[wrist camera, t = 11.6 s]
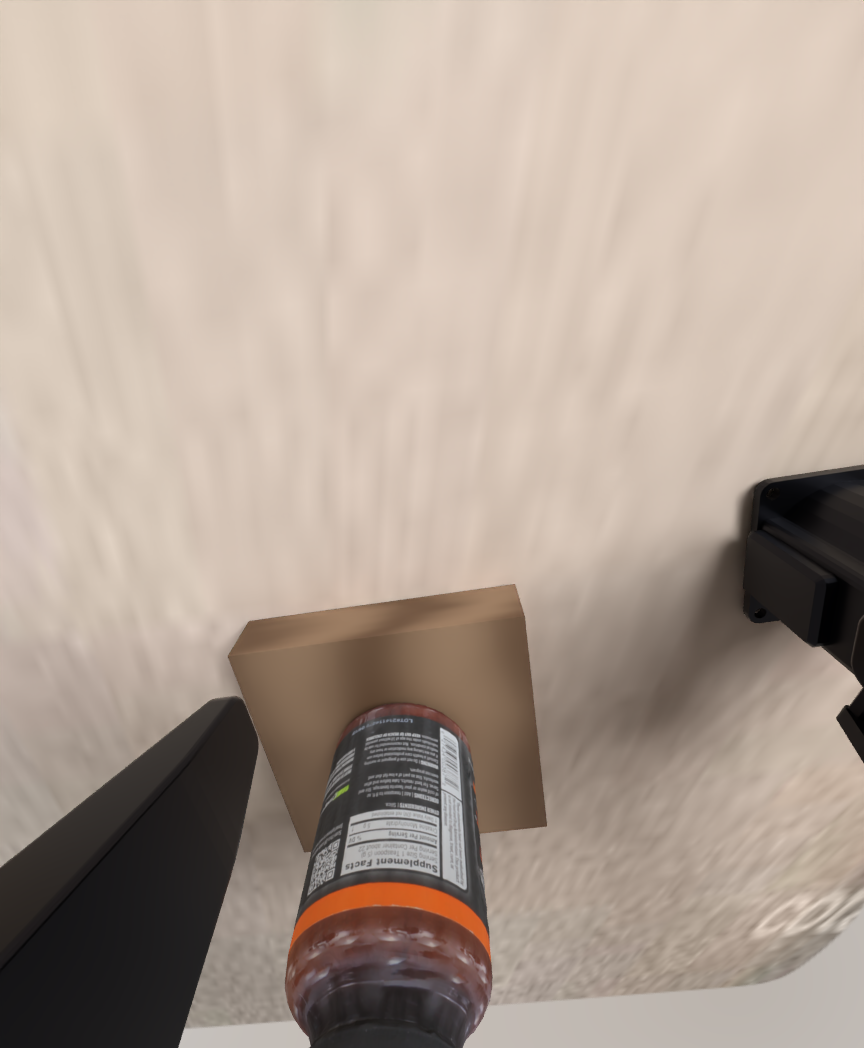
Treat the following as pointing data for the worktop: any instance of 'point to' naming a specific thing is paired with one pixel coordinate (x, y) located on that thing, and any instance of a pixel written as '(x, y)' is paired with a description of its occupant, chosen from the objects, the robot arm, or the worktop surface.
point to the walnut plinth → (397, 692)
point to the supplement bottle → (394, 891)
